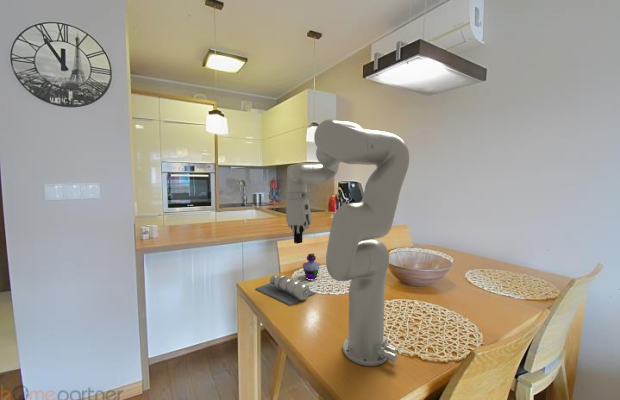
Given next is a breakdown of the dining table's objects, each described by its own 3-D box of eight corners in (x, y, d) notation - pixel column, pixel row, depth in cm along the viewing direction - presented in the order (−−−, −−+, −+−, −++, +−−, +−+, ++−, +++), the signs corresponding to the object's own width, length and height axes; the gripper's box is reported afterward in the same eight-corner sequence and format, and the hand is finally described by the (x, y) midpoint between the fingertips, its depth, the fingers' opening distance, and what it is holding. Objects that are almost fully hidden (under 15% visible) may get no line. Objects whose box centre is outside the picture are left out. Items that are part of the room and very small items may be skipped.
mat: (314, 294, 112) (314, 292, 112) (290, 305, 101) (290, 304, 101) (280, 280, 127) (280, 279, 126) (255, 289, 116) (255, 288, 116)
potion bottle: (314, 283, 123) (314, 257, 122) (298, 279, 128) (298, 254, 127) (323, 277, 131) (323, 253, 130) (308, 274, 135) (308, 250, 134)
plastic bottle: (305, 305, 104) (271, 290, 118) (314, 290, 108) (281, 277, 121) (297, 296, 101) (264, 281, 114) (307, 281, 104) (274, 269, 118)
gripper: (318, 196, 103) (318, 243, 104) (291, 195, 113) (292, 239, 114) (304, 197, 97) (305, 247, 98) (277, 196, 107) (278, 241, 109)
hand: (298, 242), depth 106 cm, fingers closed
